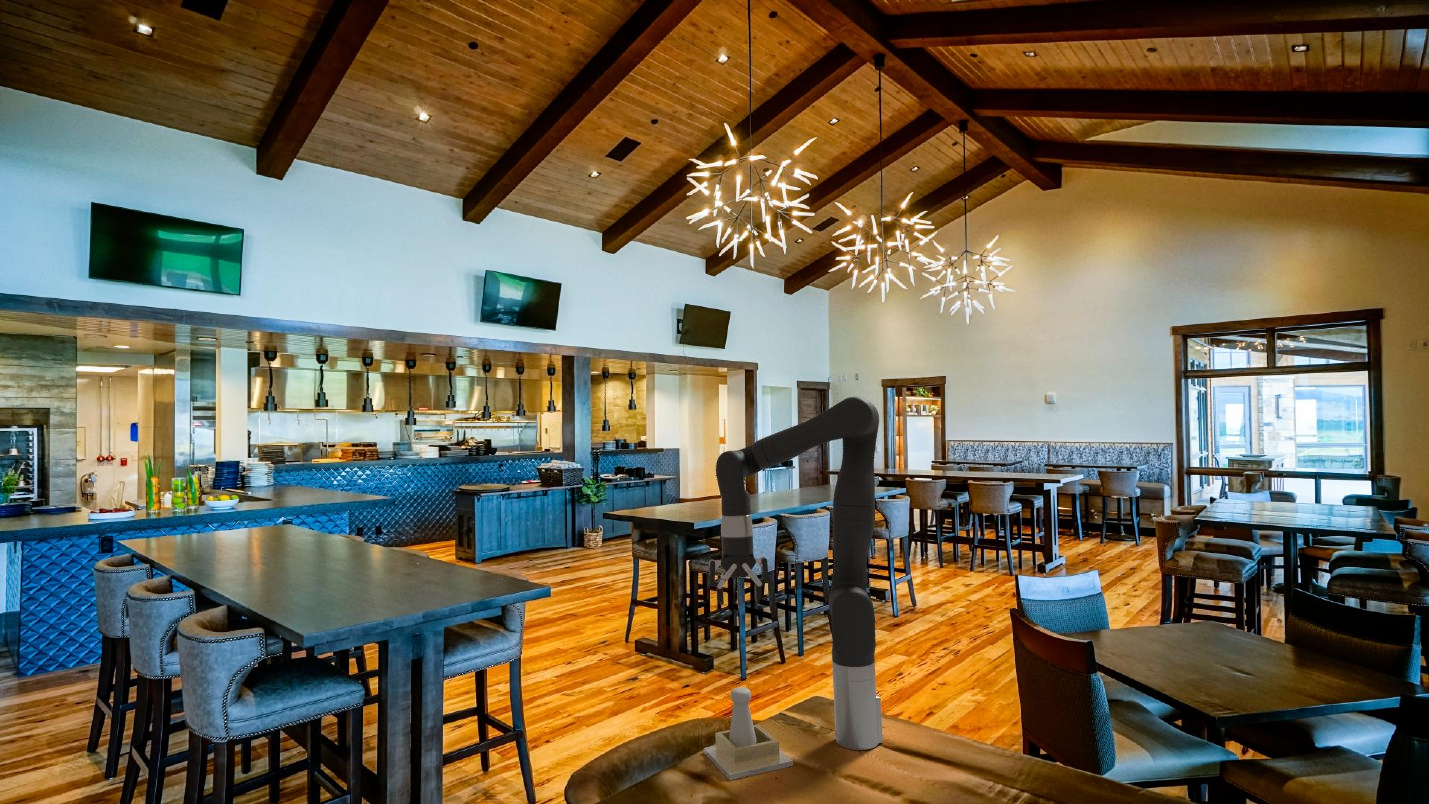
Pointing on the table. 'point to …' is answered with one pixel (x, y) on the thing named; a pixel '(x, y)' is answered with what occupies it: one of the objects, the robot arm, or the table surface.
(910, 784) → the table surface
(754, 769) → the beige square open box
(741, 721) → the salt shaker
